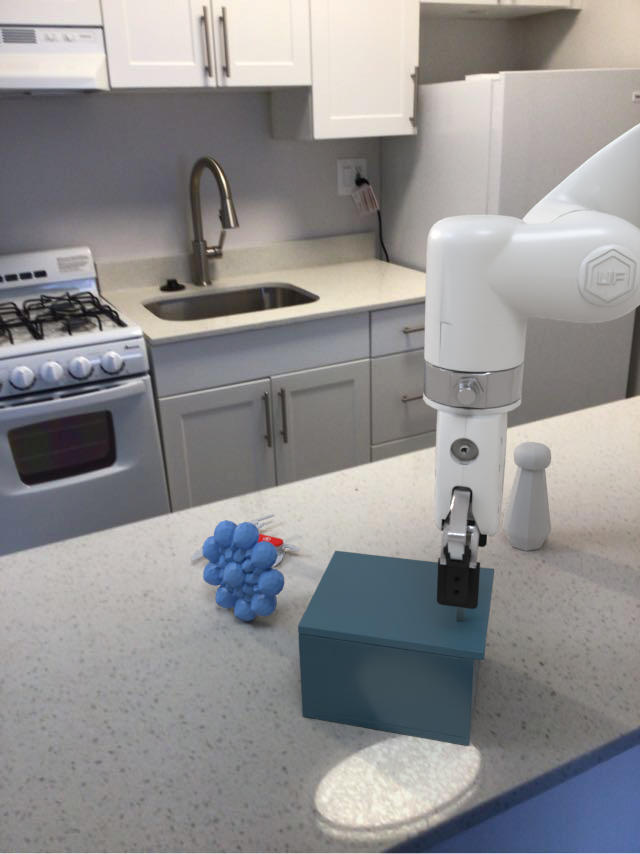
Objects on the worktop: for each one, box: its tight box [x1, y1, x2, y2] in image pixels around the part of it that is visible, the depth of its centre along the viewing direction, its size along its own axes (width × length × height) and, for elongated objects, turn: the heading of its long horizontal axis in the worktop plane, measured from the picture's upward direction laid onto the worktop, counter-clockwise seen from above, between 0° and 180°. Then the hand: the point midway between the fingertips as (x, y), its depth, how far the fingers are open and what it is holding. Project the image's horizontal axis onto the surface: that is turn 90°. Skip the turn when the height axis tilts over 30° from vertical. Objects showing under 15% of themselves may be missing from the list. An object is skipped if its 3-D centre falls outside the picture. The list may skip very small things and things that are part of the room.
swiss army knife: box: [190, 513, 301, 568], centre depth 94 cm, size 12×14×2 cm
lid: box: [297, 535, 495, 661], centre depth 66 cm, size 15×13×6 cm
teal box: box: [297, 633, 481, 747], centre depth 69 cm, size 15×13×9 cm
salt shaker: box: [502, 441, 552, 552], centre depth 91 cm, size 6×6×13 cm
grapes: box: [201, 519, 285, 622], centre depth 79 cm, size 12×7×12 cm, turn 49°
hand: (463, 572), depth 65 cm, fingers open, 9 cm apart
